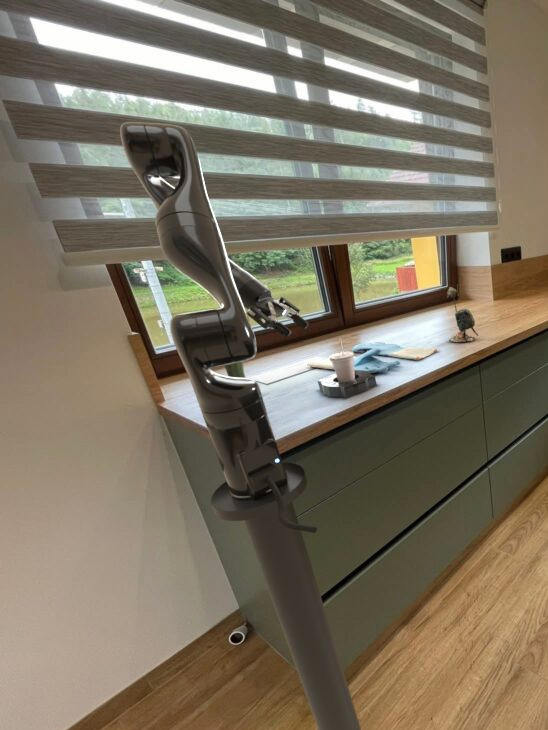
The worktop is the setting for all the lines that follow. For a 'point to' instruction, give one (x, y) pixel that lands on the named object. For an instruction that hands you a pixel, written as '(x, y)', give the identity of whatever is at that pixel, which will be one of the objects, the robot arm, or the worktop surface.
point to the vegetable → (235, 370)
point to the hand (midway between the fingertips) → (298, 330)
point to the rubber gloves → (374, 364)
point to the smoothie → (343, 365)
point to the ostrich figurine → (462, 321)
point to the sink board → (347, 384)
